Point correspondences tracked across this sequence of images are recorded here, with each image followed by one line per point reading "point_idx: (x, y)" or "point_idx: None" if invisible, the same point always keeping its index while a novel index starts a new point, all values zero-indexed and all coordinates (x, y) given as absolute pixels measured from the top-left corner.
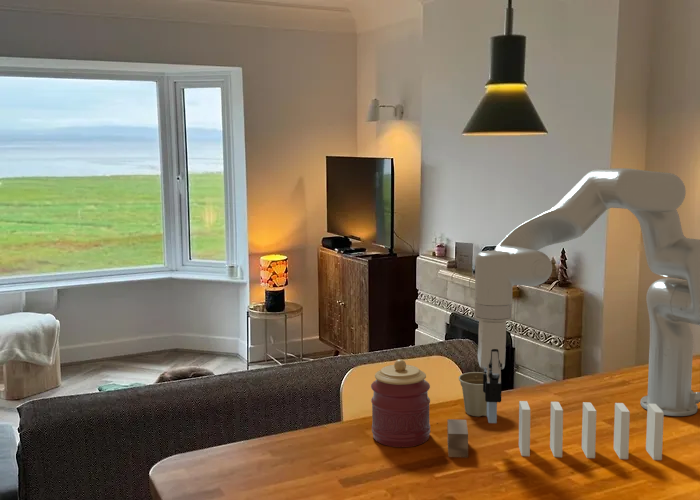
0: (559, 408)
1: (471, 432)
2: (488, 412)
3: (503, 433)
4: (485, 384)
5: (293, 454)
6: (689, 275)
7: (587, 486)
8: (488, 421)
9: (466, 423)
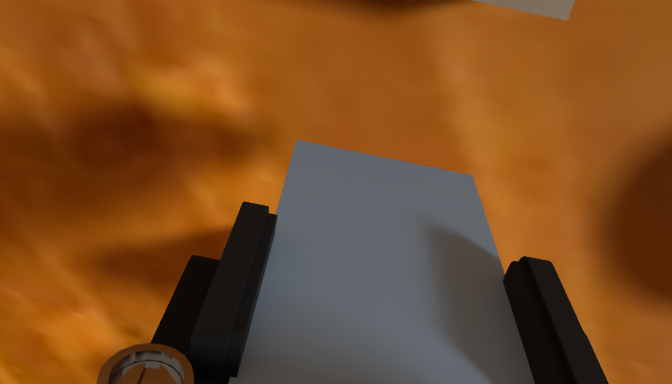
0: None
1: (654, 61)
2: (318, 178)
3: (576, 220)
4: (202, 319)
5: None
6: None
7: (22, 335)
8: (312, 144)
9: (493, 3)
